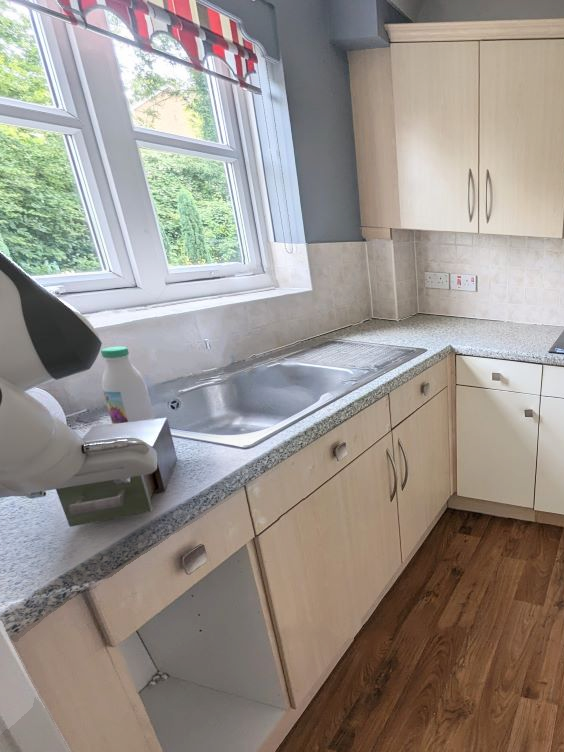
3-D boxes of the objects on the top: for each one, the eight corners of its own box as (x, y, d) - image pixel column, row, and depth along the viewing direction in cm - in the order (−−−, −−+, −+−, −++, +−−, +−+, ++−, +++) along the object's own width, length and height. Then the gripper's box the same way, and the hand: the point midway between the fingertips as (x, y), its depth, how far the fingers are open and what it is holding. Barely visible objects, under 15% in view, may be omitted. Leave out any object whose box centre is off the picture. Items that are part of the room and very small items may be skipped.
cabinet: (165, 491, 85) (153, 445, 82) (82, 506, 80) (66, 458, 76) (177, 458, 97) (167, 417, 94) (106, 469, 91) (92, 426, 88)
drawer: (145, 525, 74) (133, 483, 71) (59, 542, 69) (43, 498, 67) (165, 475, 89) (155, 439, 86) (95, 487, 84) (82, 449, 81)
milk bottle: (154, 420, 115) (134, 343, 108) (158, 429, 110) (138, 349, 103) (113, 427, 109) (89, 347, 103) (116, 438, 104) (91, 354, 97)
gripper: (141, 418, 62) (169, 452, 73) (-86, 444, 52) (-13, 479, 63) (142, 461, 60) (171, 490, 71) (-94, 497, 50) (-17, 523, 61)
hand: (83, 485), depth 67 cm, fingers open, 8 cm apart
